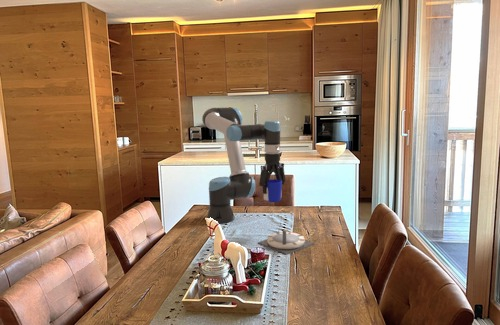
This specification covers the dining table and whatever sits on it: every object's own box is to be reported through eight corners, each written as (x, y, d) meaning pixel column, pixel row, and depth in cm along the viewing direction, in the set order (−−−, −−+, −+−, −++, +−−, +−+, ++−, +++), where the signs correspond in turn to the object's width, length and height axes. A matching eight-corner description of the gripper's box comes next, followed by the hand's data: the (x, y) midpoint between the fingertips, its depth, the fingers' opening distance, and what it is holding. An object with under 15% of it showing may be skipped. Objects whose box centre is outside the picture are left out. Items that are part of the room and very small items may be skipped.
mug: (282, 197, 192) (282, 177, 191) (282, 203, 181) (281, 182, 179) (266, 196, 193) (266, 177, 192) (264, 203, 181) (264, 182, 180)
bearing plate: (258, 243, 174) (258, 237, 173) (285, 234, 185) (285, 228, 185) (286, 254, 160) (286, 247, 160) (314, 244, 172) (314, 237, 171)
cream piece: (276, 251, 162) (276, 233, 161) (261, 238, 178) (261, 222, 176) (311, 245, 167) (311, 229, 166) (294, 233, 183) (294, 218, 182)
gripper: (261, 155, 173) (262, 203, 177) (293, 151, 187) (293, 196, 190) (251, 154, 179) (251, 200, 182) (282, 150, 192) (282, 193, 196)
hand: (272, 198), depth 186 cm, fingers closed on mug, 8 cm apart
